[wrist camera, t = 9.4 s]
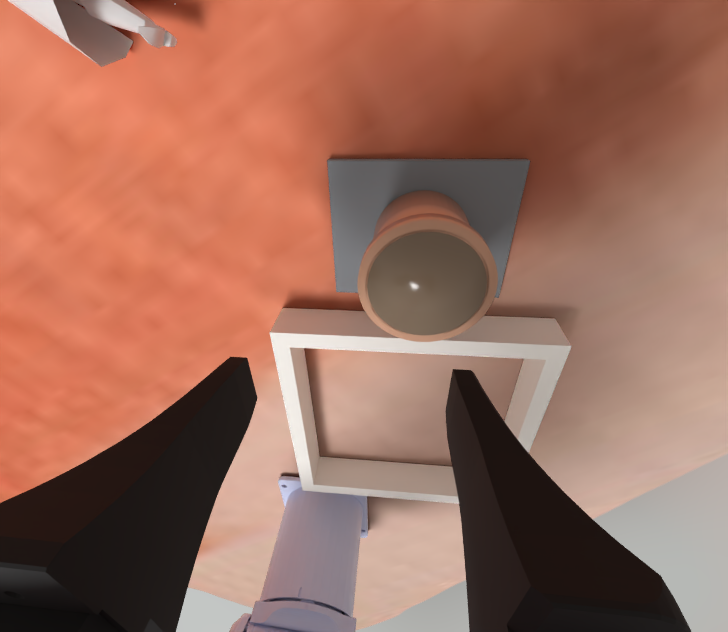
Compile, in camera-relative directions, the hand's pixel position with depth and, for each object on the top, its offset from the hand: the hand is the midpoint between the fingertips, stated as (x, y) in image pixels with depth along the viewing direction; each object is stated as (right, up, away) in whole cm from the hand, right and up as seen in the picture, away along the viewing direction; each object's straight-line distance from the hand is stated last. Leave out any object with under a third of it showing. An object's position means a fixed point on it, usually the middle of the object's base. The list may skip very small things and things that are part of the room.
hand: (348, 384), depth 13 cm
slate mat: (+3, +7, +6) cm, 9 cm away
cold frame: (+4, -4, +13) cm, 14 cm away
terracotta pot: (+3, +6, +5) cm, 9 cm away
